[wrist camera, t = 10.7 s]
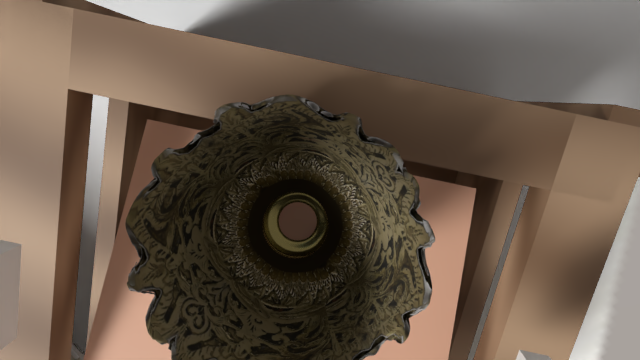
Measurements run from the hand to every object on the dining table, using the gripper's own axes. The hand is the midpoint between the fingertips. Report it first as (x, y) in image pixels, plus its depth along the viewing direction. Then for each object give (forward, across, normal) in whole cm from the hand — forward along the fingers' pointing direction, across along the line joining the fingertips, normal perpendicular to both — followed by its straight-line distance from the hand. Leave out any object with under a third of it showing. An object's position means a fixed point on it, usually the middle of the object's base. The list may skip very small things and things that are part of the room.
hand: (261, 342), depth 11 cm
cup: (+8, 0, +1) cm, 8 cm away
